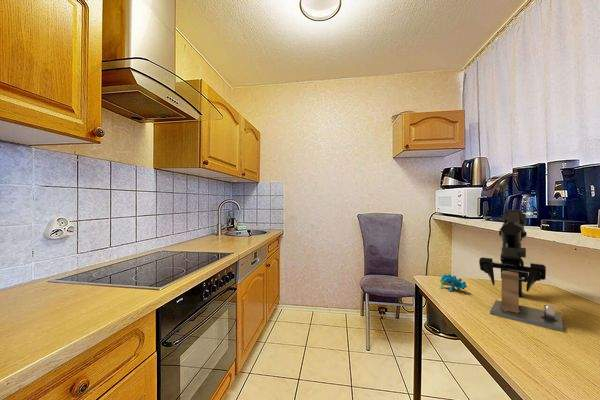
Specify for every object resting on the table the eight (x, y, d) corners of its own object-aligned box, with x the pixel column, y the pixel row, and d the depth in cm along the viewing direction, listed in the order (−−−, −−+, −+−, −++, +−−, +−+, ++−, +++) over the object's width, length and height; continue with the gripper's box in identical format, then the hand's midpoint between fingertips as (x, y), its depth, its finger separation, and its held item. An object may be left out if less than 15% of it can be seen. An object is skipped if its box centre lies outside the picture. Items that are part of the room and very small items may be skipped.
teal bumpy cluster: (471, 288, 113) (460, 274, 111) (467, 300, 111) (456, 285, 108) (447, 285, 123) (436, 271, 120) (443, 295, 120) (431, 282, 118)
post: (502, 305, 95) (502, 270, 95) (518, 309, 92) (518, 272, 92) (501, 309, 91) (501, 272, 91) (518, 313, 88) (518, 275, 88)
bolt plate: (495, 303, 101) (495, 289, 101) (561, 317, 88) (561, 302, 88) (490, 314, 90) (490, 299, 91) (563, 331, 78) (563, 314, 78)
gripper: (479, 236, 101) (475, 269, 93) (545, 241, 89) (547, 280, 80) (482, 253, 107) (478, 286, 98) (544, 260, 94) (546, 299, 86)
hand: (509, 287), depth 91 cm, fingers open, 9 cm apart
